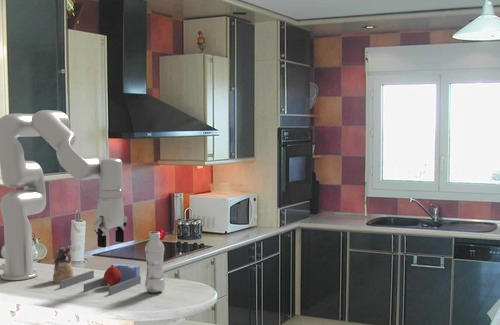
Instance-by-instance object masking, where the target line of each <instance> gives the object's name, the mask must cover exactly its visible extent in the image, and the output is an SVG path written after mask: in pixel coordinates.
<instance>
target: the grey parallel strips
mask: <svg viewBox="0 0 500 325" xmlns="http://www.w3.org/2000/svg"><path fill="white" fill-rule="evenodd" d="M94 272H95V271H94V270H89V271H86V272H83V273H79V274H77V275H74V277H71V278H68V279H65V280H61V281H60V283H59V289H60V290H61V289H64V288H67V286H68V287H70V286H73V285H76V284H79V283H82V282H85V281H87V280H90V279H94V277H95V274H94ZM141 280H142V276H141V275H140V276H138V277H134V278H132V279H129V280H126V281H124V282H119V283H118V284H116V285H113V286H109V287H108V296H112V295H115V294H117V293H120V292H122V291H125V290H127V289H129V288H132V287H134V286H137V285H139V284H141V283H142V282H141ZM81 281H82V282H81ZM104 285H108V284H107V283H106V282H105V280H104V276H102V277H100V278H97V279H95V280H92V281H89V282H86V283H84V284H83V292H84V293H86V292H88V291H89V292H90V291H92V290H94V289H96V288H99V287H103V286H104Z"/></svg>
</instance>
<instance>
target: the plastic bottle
mask: <svg viewBox="0 0 500 325" xmlns="http://www.w3.org/2000/svg"><path fill="white" fill-rule="evenodd" d="M160 238H161V232H160V231H149V232H148V241H147V243H146V244H145V247H144V252H145V257H146V258H145V260H146V276H145V277H146V279H145V283H144V286H145V290H146V292H147V293H153V294H155V293H160V292H162V291H163V292H164V290H165V287H166V286H165V285H166V281H165V280H166V279H165V277H164V255H165V245H164V243H163V242H162V240H161V239H160Z"/></svg>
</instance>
